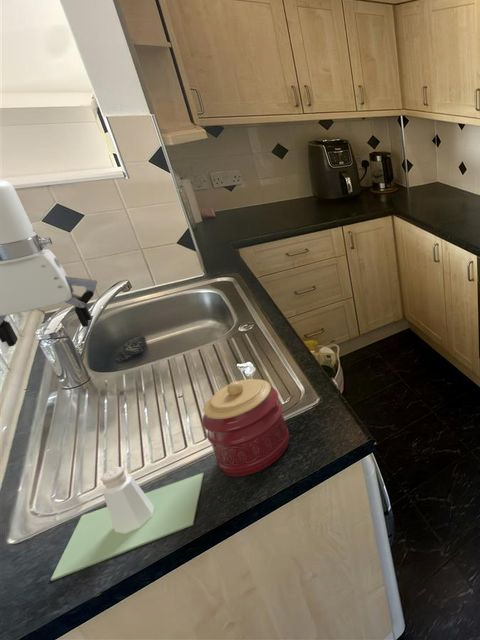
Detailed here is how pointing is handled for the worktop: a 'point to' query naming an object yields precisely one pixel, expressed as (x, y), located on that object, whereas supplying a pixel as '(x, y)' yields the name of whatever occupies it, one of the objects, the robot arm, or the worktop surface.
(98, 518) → the mat
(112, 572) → the worktop surface
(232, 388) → the kitchen canister
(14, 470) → the worktop surface
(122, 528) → the pepper shaker
